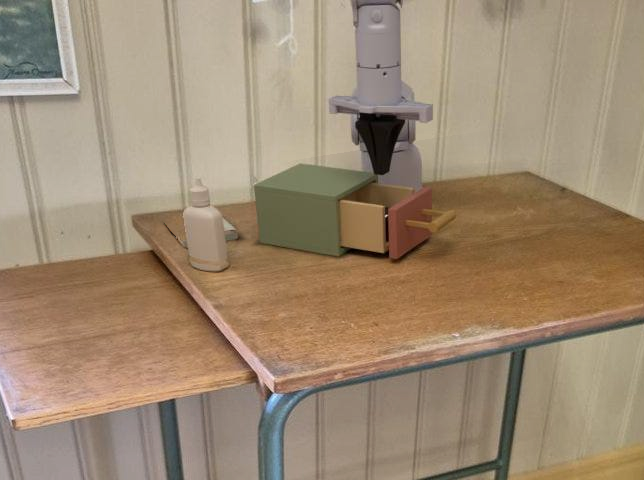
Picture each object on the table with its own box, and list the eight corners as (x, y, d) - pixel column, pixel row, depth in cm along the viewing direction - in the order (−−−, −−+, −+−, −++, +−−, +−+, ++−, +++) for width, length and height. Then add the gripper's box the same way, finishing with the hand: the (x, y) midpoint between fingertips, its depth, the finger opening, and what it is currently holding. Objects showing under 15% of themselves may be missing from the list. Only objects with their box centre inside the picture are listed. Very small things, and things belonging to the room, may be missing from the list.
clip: (381, 227, 131) (380, 203, 129) (405, 230, 129) (404, 206, 127) (363, 238, 127) (362, 214, 125) (387, 242, 125) (386, 218, 123)
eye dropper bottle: (217, 257, 128) (206, 170, 121) (231, 269, 123) (220, 180, 117) (187, 263, 126) (174, 175, 119) (201, 276, 122) (188, 186, 115)
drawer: (463, 239, 128) (464, 191, 125) (429, 264, 121) (429, 214, 117) (357, 223, 135) (355, 177, 132) (319, 245, 128) (316, 198, 124)
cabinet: (379, 230, 135) (378, 173, 130) (338, 256, 126) (335, 196, 122) (304, 218, 140) (299, 163, 136) (259, 243, 132) (253, 184, 127)
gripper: (313, 66, 116) (320, 174, 123) (415, 74, 110) (415, 187, 117) (342, 57, 121) (347, 161, 128) (440, 63, 115) (439, 173, 122)
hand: (381, 173), depth 123 cm, fingers closed
